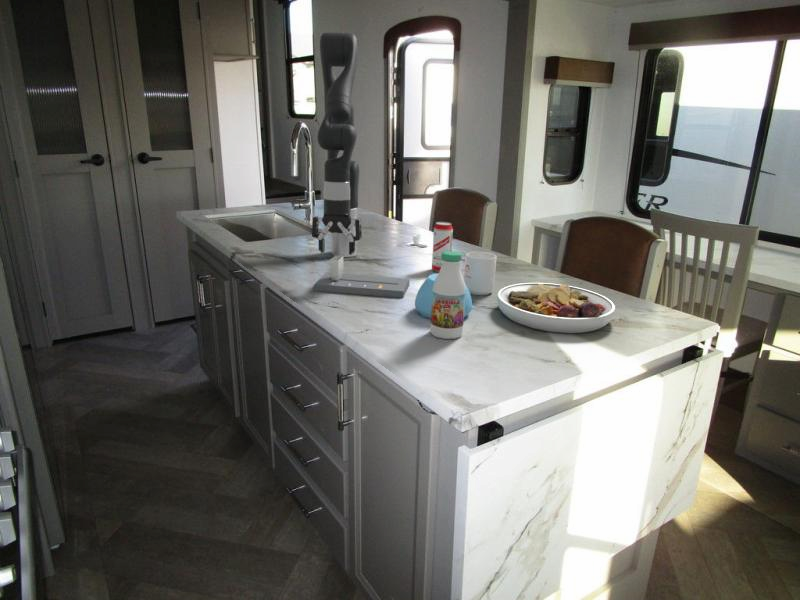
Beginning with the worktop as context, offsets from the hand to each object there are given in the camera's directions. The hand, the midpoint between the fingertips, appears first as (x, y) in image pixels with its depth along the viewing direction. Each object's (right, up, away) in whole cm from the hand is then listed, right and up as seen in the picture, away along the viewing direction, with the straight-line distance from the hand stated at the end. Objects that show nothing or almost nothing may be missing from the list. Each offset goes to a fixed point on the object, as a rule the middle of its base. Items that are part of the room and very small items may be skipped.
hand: (336, 253), depth 167 cm
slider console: (+8, -10, +2) cm, 13 cm away
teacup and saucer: (+24, +7, +57) cm, 62 cm away
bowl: (+59, -18, -15) cm, 64 cm away
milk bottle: (+30, -22, -30) cm, 48 cm away
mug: (+41, -11, +5) cm, 43 cm away
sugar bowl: (+30, -17, -16) cm, 38 cm away
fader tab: (0, -7, +3) cm, 8 cm away
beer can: (+32, -4, +24) cm, 40 cm away
